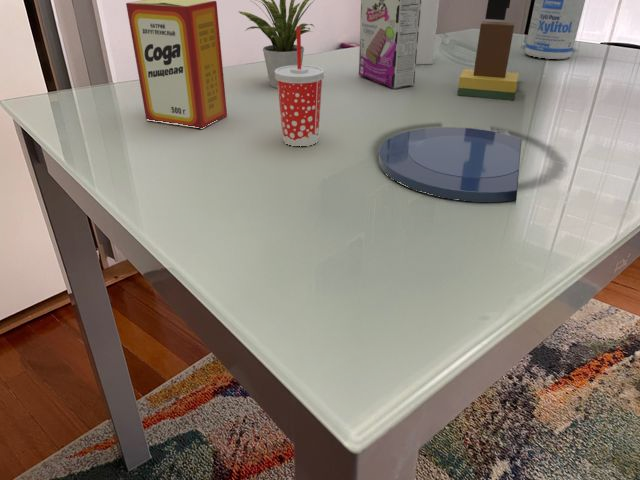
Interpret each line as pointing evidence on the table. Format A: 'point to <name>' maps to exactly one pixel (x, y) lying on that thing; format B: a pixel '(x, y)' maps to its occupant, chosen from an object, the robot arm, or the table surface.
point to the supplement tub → (553, 28)
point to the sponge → (491, 64)
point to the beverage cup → (299, 100)
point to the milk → (427, 31)
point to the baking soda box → (179, 60)
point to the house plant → (280, 35)
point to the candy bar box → (389, 41)
